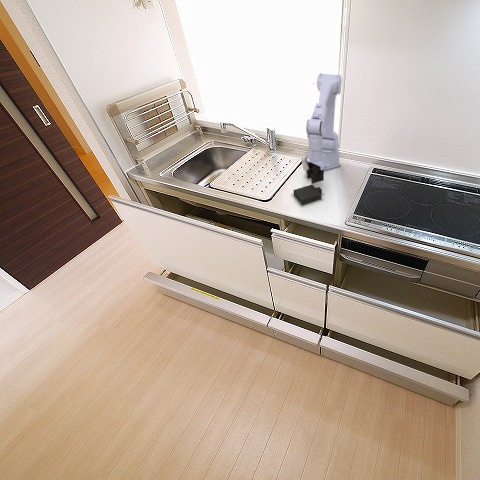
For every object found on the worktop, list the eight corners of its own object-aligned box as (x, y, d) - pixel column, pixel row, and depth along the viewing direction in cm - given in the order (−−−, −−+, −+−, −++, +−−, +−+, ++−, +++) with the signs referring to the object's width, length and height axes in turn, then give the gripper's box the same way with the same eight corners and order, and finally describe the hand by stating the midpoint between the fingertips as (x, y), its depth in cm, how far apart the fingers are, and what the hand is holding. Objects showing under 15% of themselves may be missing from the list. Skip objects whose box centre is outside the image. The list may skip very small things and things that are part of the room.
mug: (297, 174, 136) (296, 156, 129) (308, 168, 140) (307, 150, 133) (312, 182, 131) (312, 164, 123) (324, 176, 135) (324, 158, 128)
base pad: (315, 188, 127) (316, 183, 125) (325, 198, 122) (325, 192, 120) (293, 195, 123) (293, 189, 121) (302, 205, 118) (301, 200, 116)
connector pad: (318, 174, 123) (318, 166, 120) (323, 180, 120) (323, 171, 117) (307, 178, 121) (306, 169, 118) (312, 183, 118) (312, 175, 115)
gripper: (299, 143, 113) (300, 171, 122) (315, 158, 104) (315, 186, 114) (313, 140, 115) (314, 167, 125) (330, 154, 106) (329, 182, 116)
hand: (315, 176), depth 119 cm, fingers closed on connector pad, 5 cm apart
